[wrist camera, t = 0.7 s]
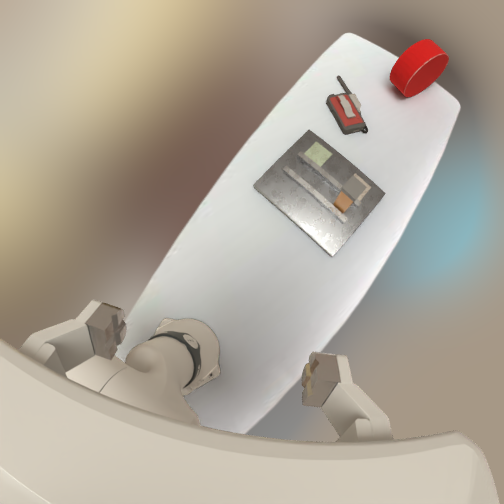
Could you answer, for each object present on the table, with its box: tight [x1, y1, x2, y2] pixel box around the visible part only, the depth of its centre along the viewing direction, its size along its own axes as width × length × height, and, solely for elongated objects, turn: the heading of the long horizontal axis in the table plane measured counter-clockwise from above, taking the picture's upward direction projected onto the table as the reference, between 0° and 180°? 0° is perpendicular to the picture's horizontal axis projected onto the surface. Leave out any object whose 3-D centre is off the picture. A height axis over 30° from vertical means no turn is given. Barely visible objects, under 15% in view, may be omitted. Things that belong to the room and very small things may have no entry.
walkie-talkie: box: [326, 76, 368, 135], centre depth 63 cm, size 9×4×20 cm
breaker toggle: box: [333, 175, 367, 214], centre depth 54 cm, size 3×3×13 cm
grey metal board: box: [253, 130, 386, 257], centre depth 61 cm, size 20×24×4 cm
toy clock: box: [390, 39, 449, 97], centre depth 53 cm, size 20×6×20 cm, turn 123°
